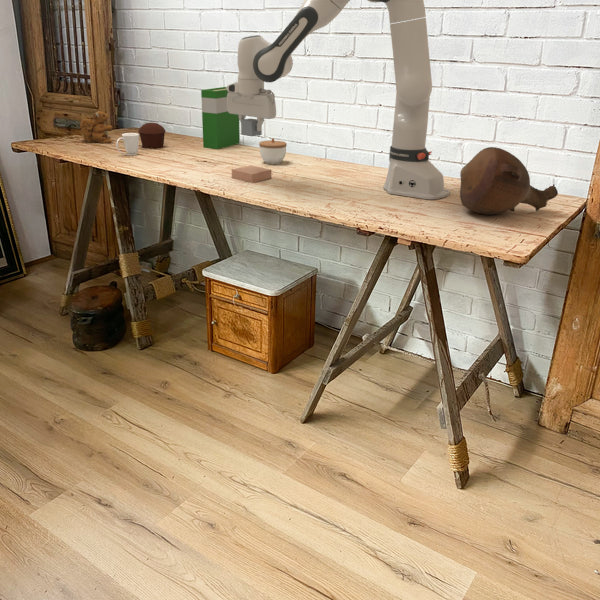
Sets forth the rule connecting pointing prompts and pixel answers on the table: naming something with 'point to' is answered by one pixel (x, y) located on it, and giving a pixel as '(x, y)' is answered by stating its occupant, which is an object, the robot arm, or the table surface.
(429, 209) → the table surface
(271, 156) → the lidded jar
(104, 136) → the stuffed squirrel
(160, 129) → the muffin
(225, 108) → the hardback book
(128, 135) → the cup
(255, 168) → the pedestal
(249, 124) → the cube
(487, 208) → the brown bulbous piece
